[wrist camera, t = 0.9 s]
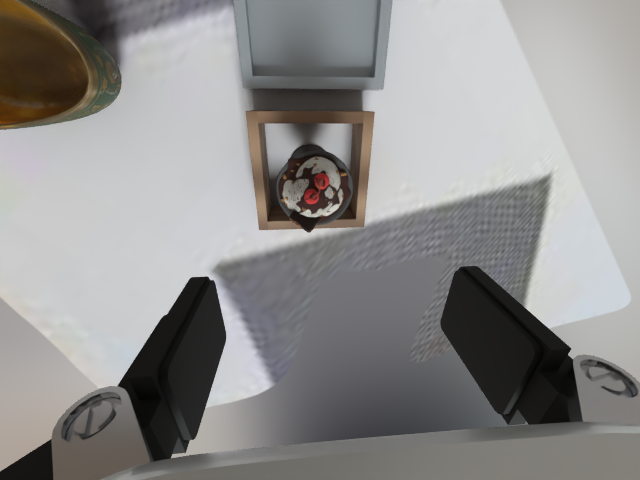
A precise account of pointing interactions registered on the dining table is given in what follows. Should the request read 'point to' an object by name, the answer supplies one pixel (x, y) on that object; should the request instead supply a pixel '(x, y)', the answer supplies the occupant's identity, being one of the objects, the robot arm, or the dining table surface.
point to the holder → (359, 169)
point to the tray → (313, 43)
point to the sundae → (314, 187)
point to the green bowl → (50, 68)
